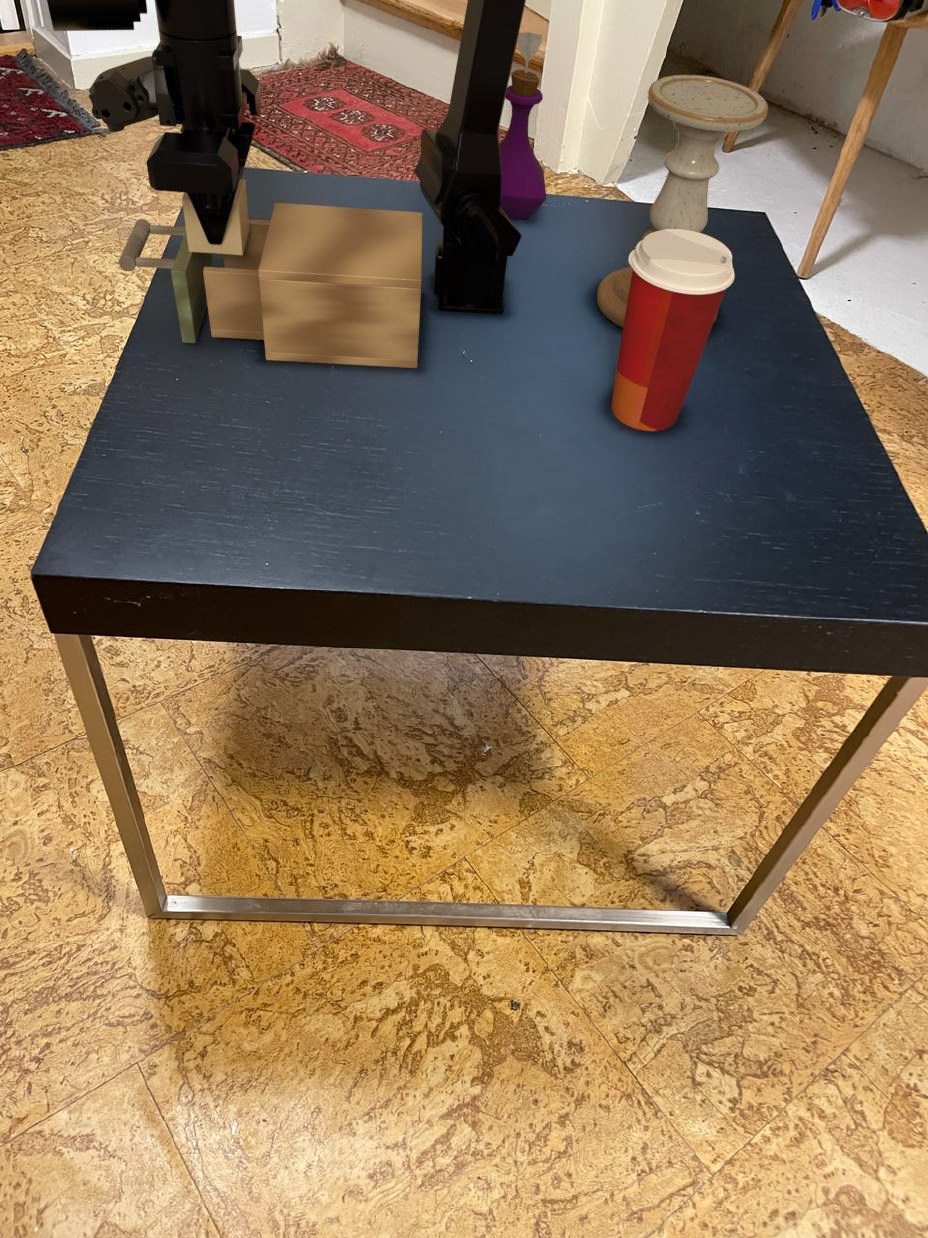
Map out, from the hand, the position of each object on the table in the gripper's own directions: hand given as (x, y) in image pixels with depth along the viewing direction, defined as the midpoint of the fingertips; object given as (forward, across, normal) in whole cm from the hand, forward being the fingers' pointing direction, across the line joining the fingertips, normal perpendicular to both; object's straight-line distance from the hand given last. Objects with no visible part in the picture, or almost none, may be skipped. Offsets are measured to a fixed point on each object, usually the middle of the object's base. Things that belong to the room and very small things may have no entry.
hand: (219, 229), depth 83 cm
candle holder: (+9, -7, +42) cm, 43 cm away
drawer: (+8, 0, 0) cm, 8 cm away
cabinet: (+9, 0, +11) cm, 14 cm away
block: (+1, 0, 0) cm, 1 cm away
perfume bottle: (+9, -27, +28) cm, 40 cm away
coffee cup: (+9, +11, +38) cm, 40 cm away
